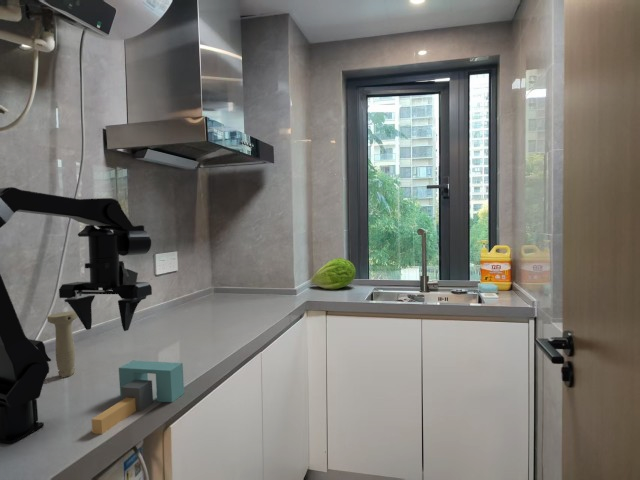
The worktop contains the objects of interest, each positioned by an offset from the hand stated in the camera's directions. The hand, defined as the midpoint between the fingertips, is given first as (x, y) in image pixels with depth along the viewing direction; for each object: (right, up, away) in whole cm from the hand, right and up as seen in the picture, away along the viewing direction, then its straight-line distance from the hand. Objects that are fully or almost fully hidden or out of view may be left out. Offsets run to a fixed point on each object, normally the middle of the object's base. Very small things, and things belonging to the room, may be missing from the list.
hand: (107, 330), depth 92 cm
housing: (+11, -13, -2) cm, 17 cm away
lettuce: (+52, -5, +126) cm, 137 cm away
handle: (-16, -14, +12) cm, 24 cm away
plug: (+9, -14, -11) cm, 20 cm away
